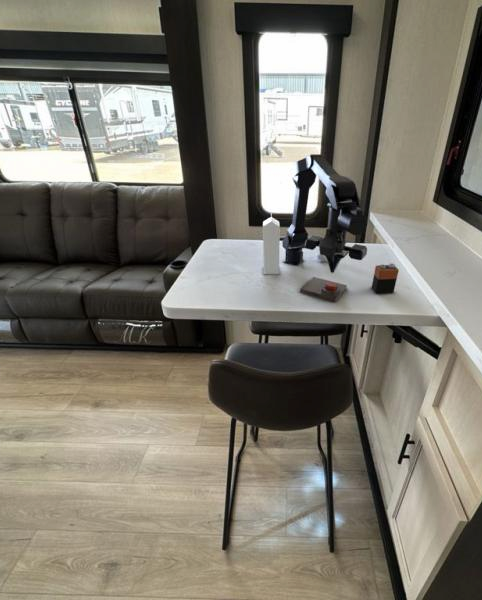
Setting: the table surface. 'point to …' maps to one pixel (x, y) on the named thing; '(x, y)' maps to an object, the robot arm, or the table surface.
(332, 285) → the button
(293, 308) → the table surface
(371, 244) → the table surface
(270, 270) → the milk
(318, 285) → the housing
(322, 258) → the white bunny figurine
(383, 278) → the battery
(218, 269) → the table surface
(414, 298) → the table surface
